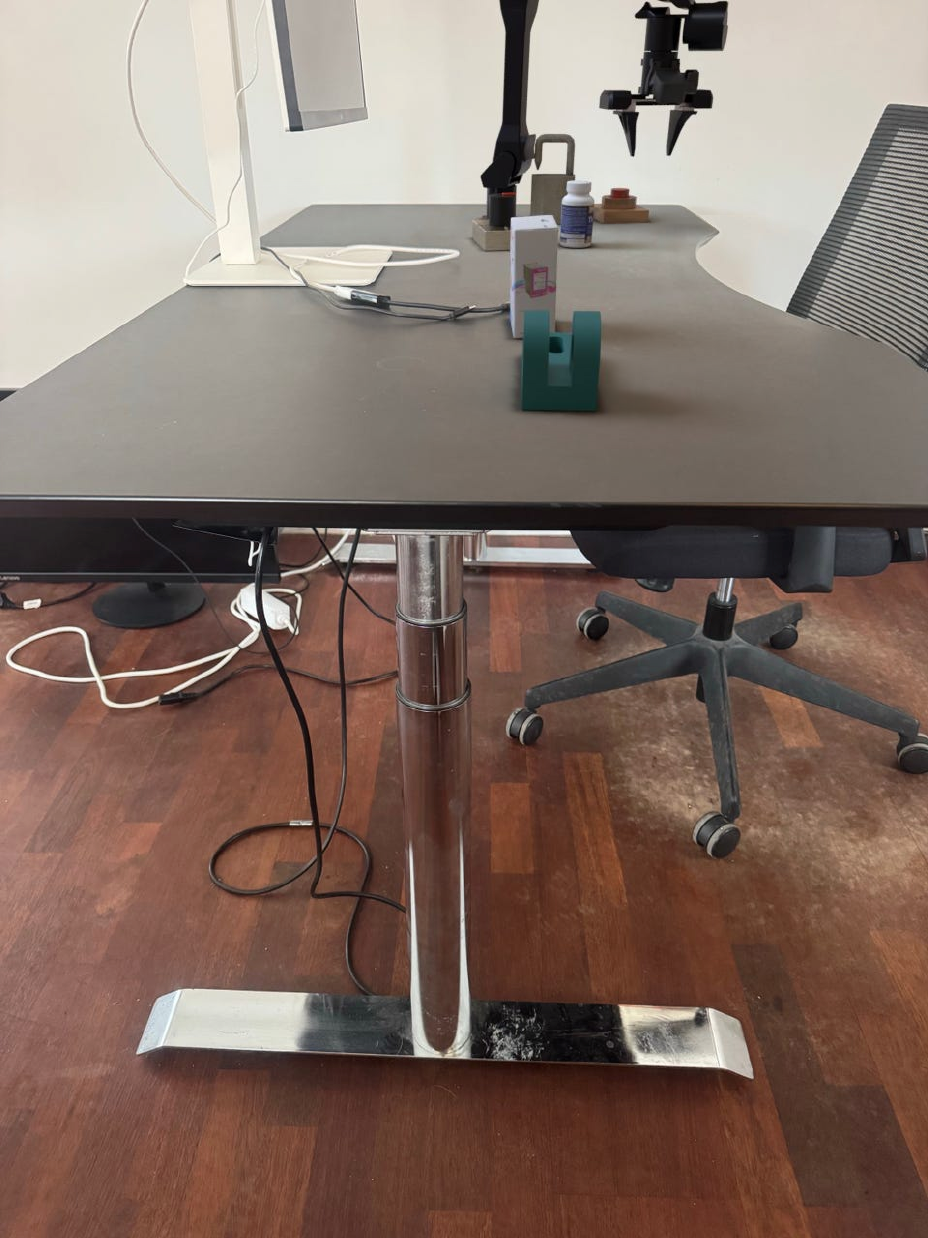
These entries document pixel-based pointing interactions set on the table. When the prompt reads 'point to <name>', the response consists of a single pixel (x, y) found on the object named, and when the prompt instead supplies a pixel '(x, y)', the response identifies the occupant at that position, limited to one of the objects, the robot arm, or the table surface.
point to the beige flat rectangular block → (491, 235)
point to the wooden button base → (620, 210)
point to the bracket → (560, 362)
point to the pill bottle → (577, 215)
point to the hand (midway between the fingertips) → (650, 155)
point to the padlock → (551, 179)
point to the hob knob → (501, 209)
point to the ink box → (532, 268)
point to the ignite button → (619, 193)
